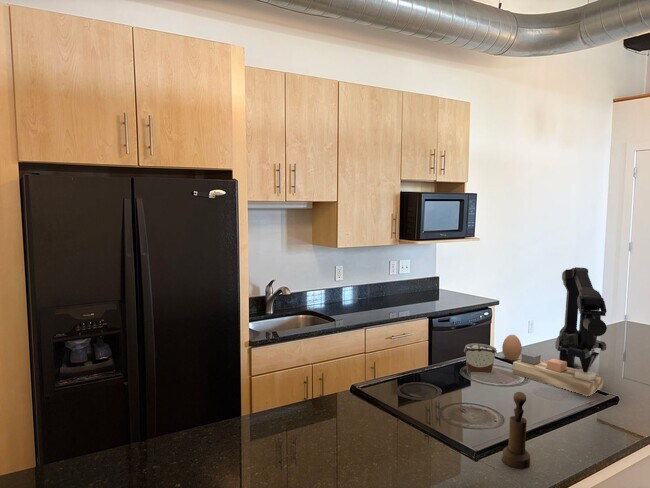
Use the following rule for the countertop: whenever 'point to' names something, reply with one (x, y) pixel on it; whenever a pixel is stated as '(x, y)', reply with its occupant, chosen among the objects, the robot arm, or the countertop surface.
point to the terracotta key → (557, 365)
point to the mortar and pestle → (517, 436)
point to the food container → (480, 358)
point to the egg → (512, 347)
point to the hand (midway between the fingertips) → (585, 372)
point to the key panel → (557, 377)
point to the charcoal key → (531, 358)
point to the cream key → (585, 375)
